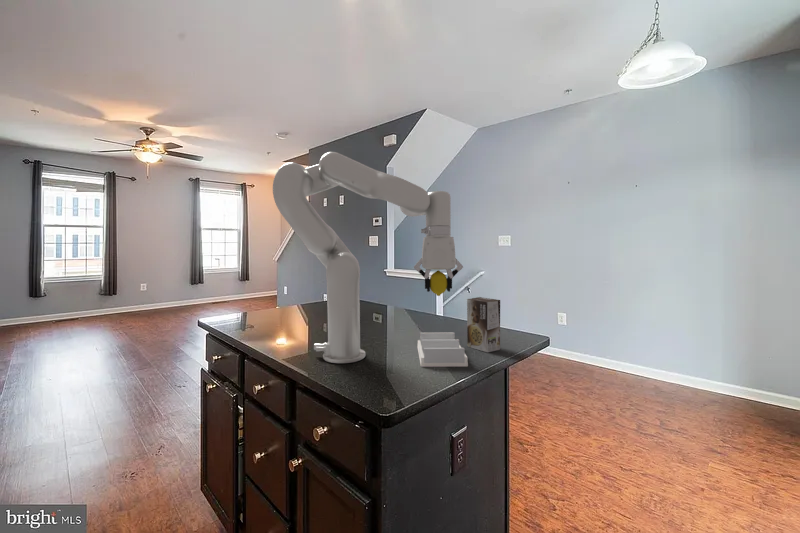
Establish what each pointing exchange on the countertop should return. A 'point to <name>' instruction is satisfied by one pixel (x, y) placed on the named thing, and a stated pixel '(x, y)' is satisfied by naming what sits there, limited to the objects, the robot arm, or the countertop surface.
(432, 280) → the lemon
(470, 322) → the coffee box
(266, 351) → the countertop surface
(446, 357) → the dish rack
